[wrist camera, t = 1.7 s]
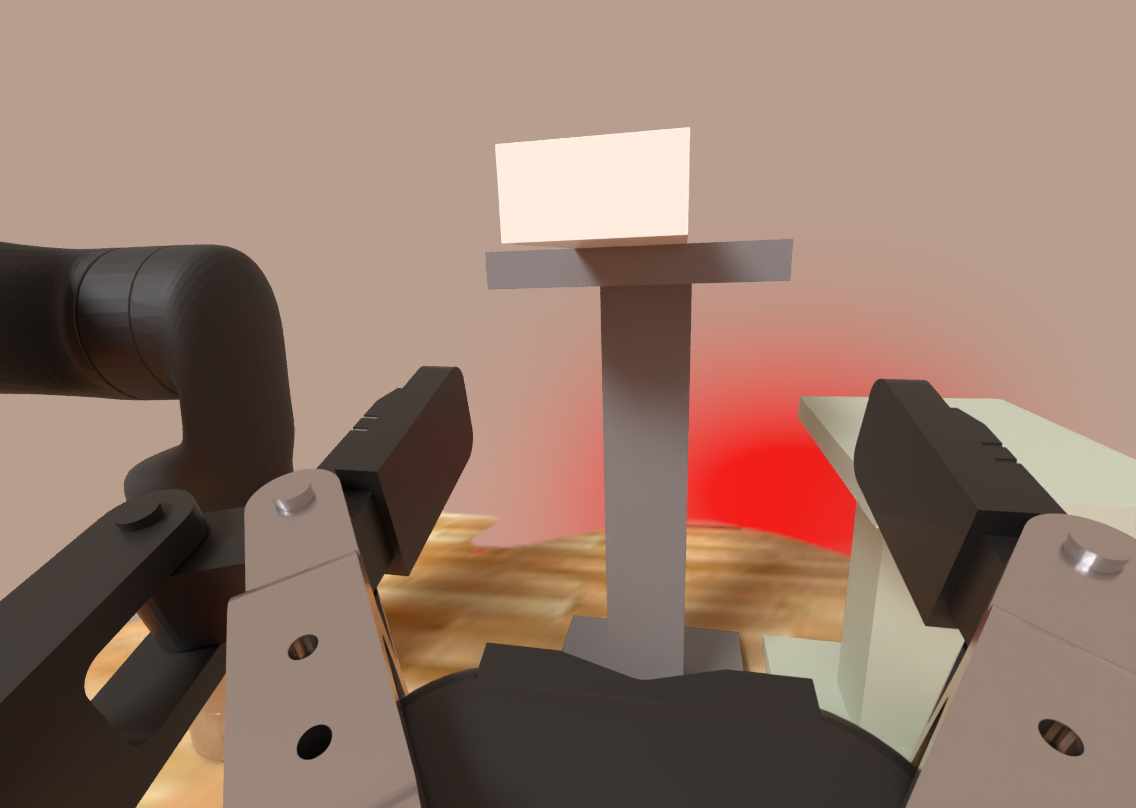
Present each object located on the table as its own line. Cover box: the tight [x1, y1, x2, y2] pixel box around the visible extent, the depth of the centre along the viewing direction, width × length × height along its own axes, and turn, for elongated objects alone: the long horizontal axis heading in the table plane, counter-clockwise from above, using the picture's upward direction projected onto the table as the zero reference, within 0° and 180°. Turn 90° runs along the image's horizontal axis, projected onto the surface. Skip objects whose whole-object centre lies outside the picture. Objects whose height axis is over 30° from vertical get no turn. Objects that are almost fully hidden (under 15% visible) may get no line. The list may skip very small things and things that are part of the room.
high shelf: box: [485, 239, 793, 680], centre depth 34 cm, size 18×14×32 cm
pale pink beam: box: [495, 127, 690, 249], centre depth 23 cm, size 22×4×2 cm, turn 168°
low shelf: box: [762, 396, 1136, 760], centre depth 32 cm, size 18×14×22 cm
